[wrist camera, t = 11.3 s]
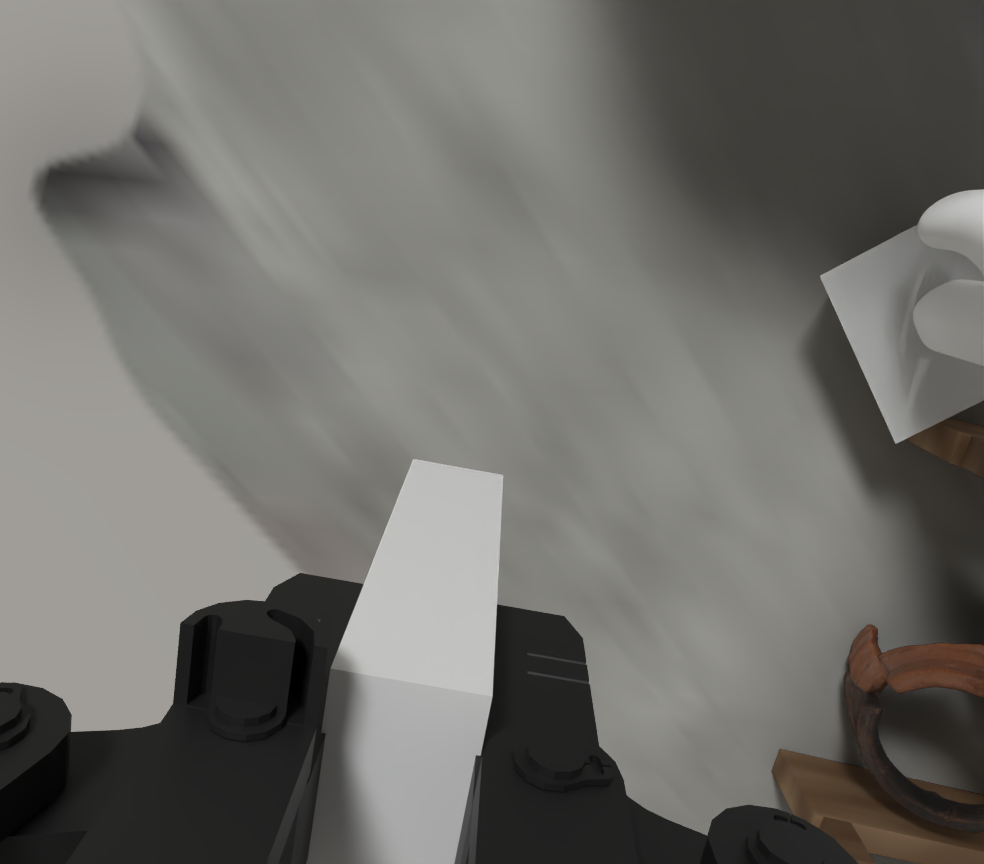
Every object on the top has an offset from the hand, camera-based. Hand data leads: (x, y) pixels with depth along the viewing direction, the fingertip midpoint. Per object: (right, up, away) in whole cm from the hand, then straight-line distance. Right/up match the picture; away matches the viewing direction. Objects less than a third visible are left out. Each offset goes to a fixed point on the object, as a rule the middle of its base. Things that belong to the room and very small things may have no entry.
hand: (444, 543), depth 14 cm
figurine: (+18, +7, +21) cm, 29 cm away
